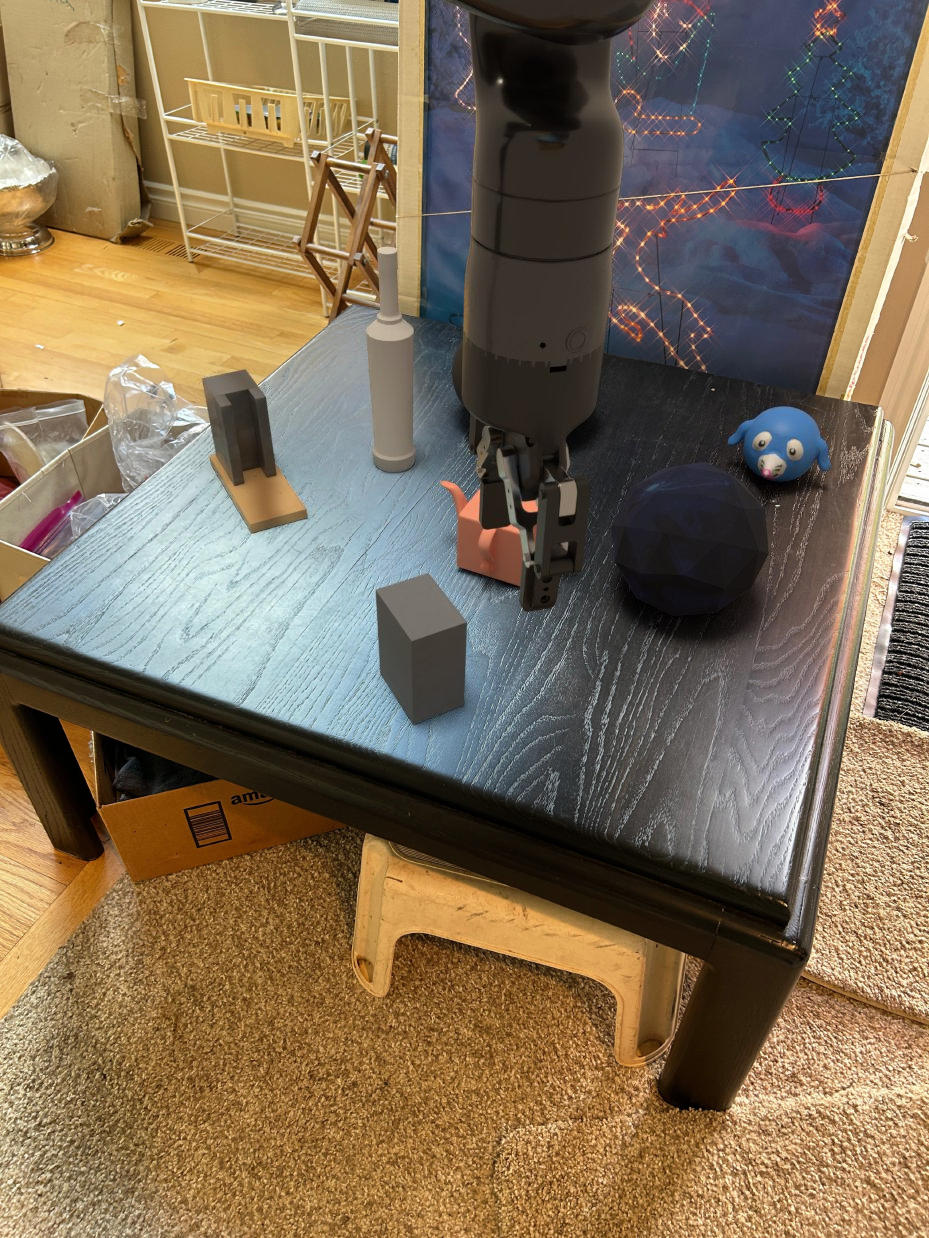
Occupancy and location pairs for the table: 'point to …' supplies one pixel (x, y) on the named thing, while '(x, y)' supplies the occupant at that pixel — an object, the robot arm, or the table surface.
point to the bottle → (391, 373)
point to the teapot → (487, 540)
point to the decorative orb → (690, 539)
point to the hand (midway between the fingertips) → (515, 564)
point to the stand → (248, 452)
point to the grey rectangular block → (421, 647)
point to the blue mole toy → (782, 444)
